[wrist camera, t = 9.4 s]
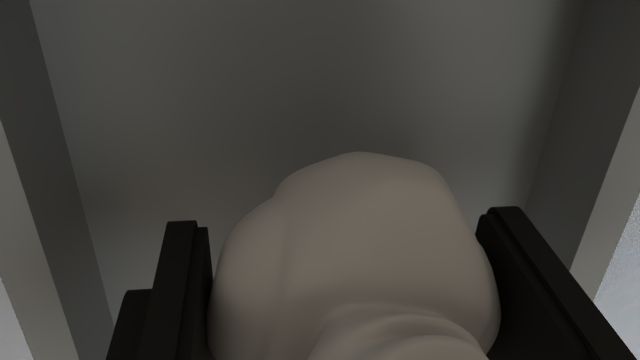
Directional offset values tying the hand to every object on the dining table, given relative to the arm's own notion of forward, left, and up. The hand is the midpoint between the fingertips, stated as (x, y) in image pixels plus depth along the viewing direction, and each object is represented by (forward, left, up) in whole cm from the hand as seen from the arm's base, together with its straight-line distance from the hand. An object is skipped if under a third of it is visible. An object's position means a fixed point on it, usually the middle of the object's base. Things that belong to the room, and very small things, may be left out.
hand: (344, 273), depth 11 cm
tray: (0, 0, -4) cm, 4 cm away
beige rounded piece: (0, 0, -1) cm, 1 cm away
